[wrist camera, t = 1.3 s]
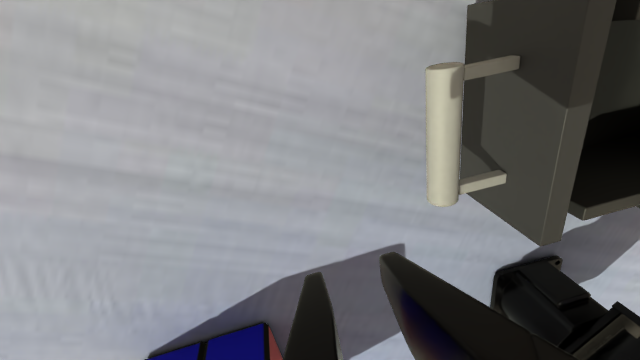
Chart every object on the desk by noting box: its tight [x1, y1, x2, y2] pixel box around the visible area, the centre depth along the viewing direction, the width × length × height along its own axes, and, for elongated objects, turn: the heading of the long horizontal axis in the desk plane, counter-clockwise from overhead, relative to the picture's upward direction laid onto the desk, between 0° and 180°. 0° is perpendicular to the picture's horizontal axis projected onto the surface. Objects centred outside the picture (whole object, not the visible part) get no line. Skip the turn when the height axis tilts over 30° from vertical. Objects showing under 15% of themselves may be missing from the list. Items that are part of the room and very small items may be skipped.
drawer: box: [425, 0, 640, 246], centre depth 16 cm, size 18×11×7 cm, turn 100°
